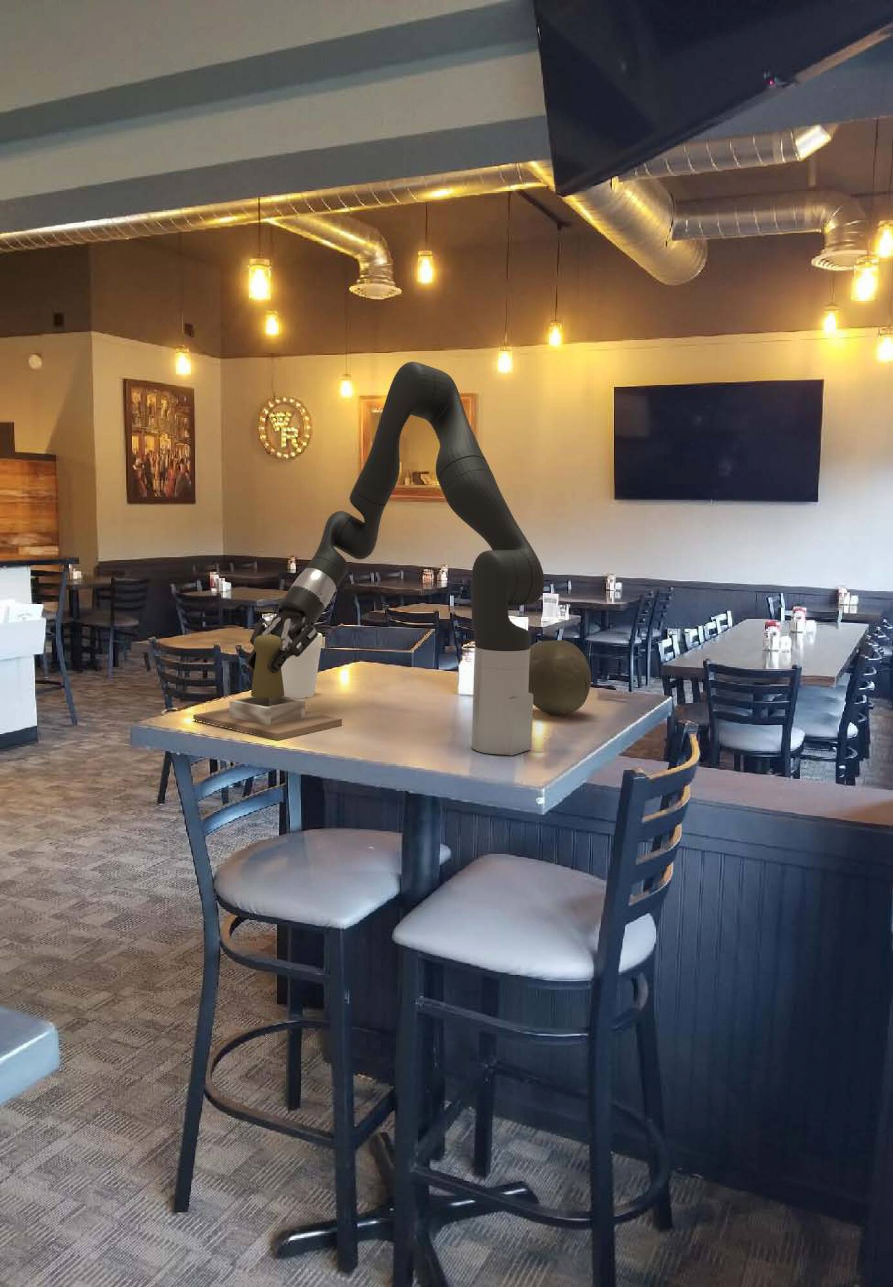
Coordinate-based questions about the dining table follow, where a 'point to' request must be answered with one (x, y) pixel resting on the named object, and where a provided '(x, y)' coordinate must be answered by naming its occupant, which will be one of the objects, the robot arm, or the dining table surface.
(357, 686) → the dining table surface
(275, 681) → the olive pepper mill
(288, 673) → the foam cup
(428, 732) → the dining table surface
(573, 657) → the cantaloupe
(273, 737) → the brown board with dish
